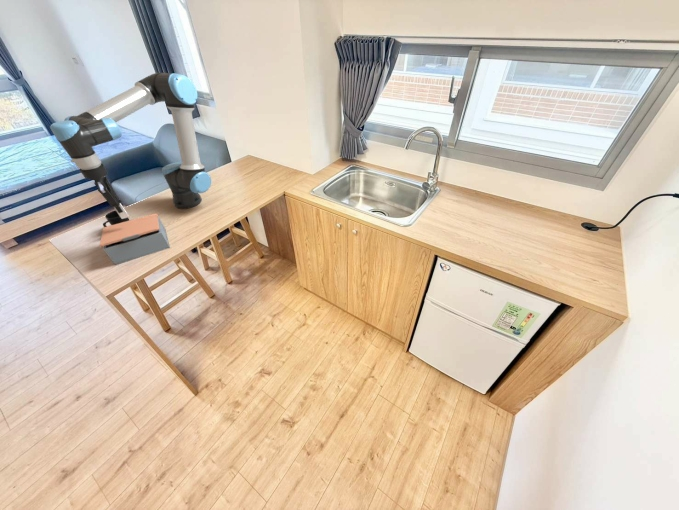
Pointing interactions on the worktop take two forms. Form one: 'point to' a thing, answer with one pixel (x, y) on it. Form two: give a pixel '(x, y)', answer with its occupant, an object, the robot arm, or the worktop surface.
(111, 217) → the mug
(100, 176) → the robot arm
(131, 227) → the lid
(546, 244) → the worktop surface
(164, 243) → the box
